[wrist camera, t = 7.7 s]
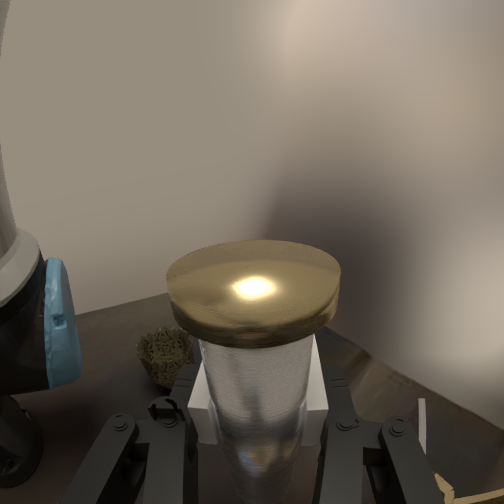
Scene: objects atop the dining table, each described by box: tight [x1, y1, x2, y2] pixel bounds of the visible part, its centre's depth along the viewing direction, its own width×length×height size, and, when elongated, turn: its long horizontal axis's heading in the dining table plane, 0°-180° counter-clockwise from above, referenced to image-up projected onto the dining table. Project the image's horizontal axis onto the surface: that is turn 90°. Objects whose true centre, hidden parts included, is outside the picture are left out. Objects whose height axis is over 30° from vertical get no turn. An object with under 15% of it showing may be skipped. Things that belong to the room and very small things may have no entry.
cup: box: [136, 327, 194, 392], centre depth 33 cm, size 8×7×8 cm
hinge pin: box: [166, 240, 341, 504], centre depth 10 cm, size 5×5×16 cm
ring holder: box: [368, 399, 504, 504], centre depth 12 cm, size 14×20×5 cm
